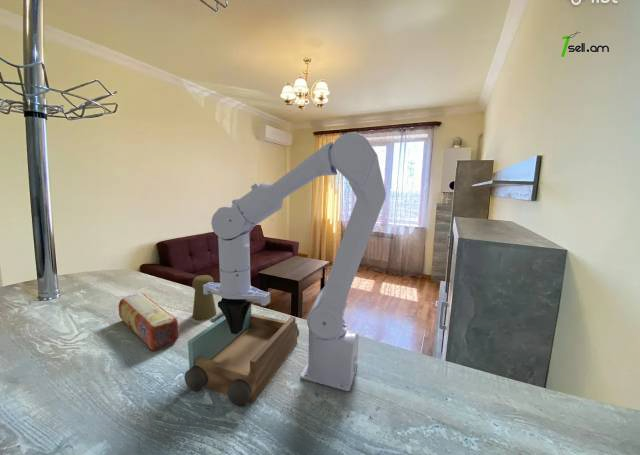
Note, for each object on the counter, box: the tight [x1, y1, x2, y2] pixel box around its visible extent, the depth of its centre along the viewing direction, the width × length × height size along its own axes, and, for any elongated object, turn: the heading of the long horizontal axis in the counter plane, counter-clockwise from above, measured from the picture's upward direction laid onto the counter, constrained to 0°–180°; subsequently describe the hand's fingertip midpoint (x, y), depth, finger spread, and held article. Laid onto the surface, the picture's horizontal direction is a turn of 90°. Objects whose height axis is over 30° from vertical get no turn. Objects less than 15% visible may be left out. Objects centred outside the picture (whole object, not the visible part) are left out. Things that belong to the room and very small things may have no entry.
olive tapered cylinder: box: [191, 274, 217, 321], centre depth 72 cm, size 6×6×11 cm
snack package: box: [117, 292, 180, 351], centre depth 64 cm, size 21×7×7 cm, turn 51°
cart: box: [183, 313, 300, 408], centre depth 54 cm, size 13×20×7 cm, turn 161°
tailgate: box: [187, 304, 252, 369], centre depth 55 cm, size 2×18×7 cm, turn 161°
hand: (236, 331), depth 54 cm, fingers closed
